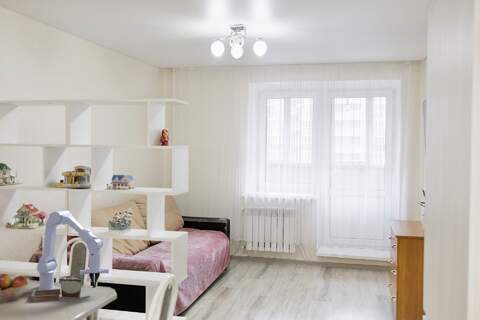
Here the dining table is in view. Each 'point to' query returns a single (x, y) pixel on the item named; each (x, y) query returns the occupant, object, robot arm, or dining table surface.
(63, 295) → the food container
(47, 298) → the bottom track
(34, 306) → the dining table surface
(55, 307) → the dining table surface
